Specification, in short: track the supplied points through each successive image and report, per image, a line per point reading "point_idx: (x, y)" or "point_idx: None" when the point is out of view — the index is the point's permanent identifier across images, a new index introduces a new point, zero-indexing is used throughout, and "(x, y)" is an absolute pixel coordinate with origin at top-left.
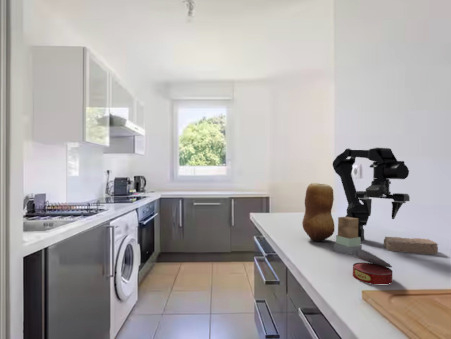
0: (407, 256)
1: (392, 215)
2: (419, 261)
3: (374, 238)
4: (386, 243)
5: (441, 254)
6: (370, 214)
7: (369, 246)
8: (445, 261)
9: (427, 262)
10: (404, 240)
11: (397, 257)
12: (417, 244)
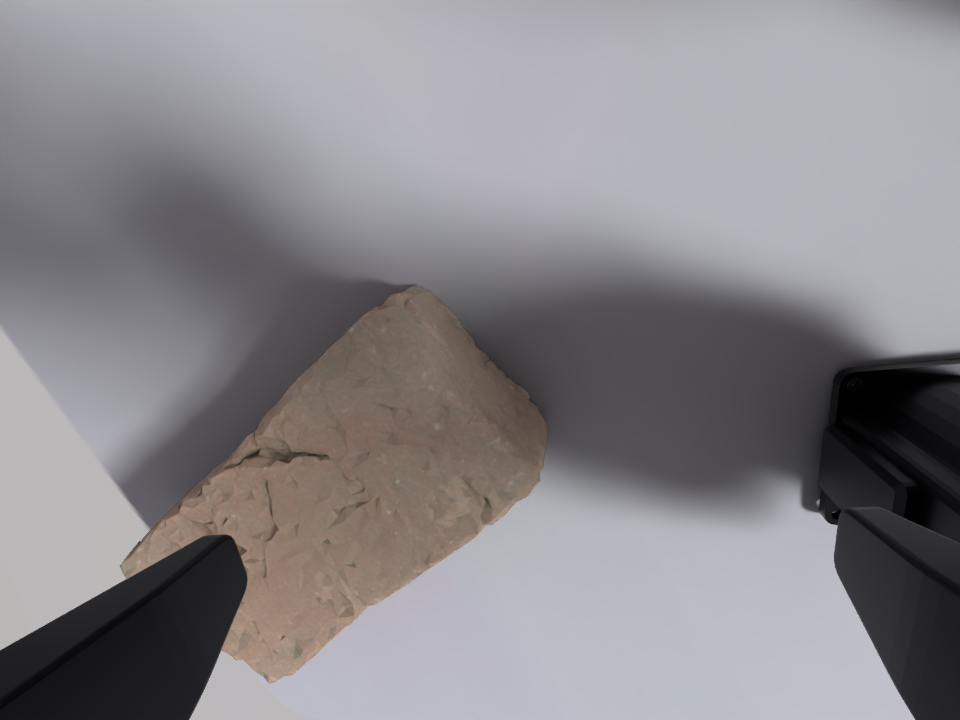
0: (208, 232)
1: (139, 587)
2: (64, 162)
3: (767, 619)
4: (464, 356)
5: None
6: (855, 606)
7: (609, 249)
8: (39, 372)
9: (31, 200)
10: (327, 476)
11: (204, 90)
12: (217, 469)
